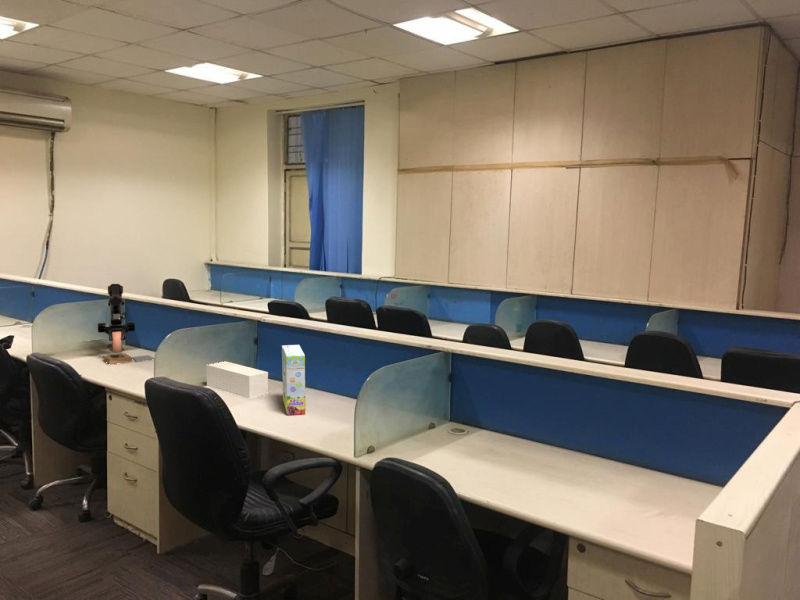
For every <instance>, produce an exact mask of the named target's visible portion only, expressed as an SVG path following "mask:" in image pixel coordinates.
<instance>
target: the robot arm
mask: <svg viewBox="0 0 800 600" xmlns="http://www.w3.org/2000/svg"><path fill="white" fill-rule="evenodd" d="M107 294H108V296H109V300H108V302H107V303H108V304H107V305H108V307H109V308H110V312H109V313H110V324H109V323H108V324H106V322H99V323H97V332H98V333H99V334H101V333H102V334H103V333H104V334H107V335H108V341H109V342H111V348H110V349H109V350H110V351H111V352H113V343H112V332H116V331H119V332H121V343H122V344H123V341H125V340H127V339H126V338H127V336H126V334H127V333H129V332H135V330H136V323H135V322H134V321H127V322H126V324H123V320H125V318H126V316H125V312H122V308H123V306H124V305H125V301H124V299H122V298H123V297H122V296H123V294H124V286H123V285H121V284H120V283H111V284H110V285H108V286H107ZM122 351H125V349H124V348H123V347H122Z"/></svg>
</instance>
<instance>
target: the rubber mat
mask: <svg viewBox="0 0 800 600" xmlns="http://www.w3.org/2000/svg"><path fill="white" fill-rule="evenodd" d="M131 357H132V359H133V360H135V361H140V362H144V361H143V360H149V361H153V360H152V359H154V360H155V358H154V357H153V356H150V355H148V354H146V355H137V356H131ZM133 360H132V361H133ZM135 361H134V362H135Z"/></svg>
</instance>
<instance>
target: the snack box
mask: <svg viewBox="0 0 800 600" xmlns="http://www.w3.org/2000/svg"><path fill="white" fill-rule="evenodd" d="M281 359H282V360H281V362H282V364H281V365H282V369H281V371H282V372H281V373H282V401H283V405H284V409H285V412H286V413H285V414H286V416H303V415H304V416H305V415H306V355H305V353H304V351H303V349H302V347H301V345H300V344H287V345H286V344H285V345H281Z"/></svg>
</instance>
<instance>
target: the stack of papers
mask: <svg viewBox="0 0 800 600" xmlns="http://www.w3.org/2000/svg"><path fill="white" fill-rule="evenodd" d="M223 361H224V360H223ZM223 361H220V362H219V361H218V362H219V363H218V362H214V364H213V363H209V365H208V364H206V387H208V388H213V389H216V390H218V389H219V390H220V391H222V392H225V391H226V392H225V393H228V392H229V394H231V393H233V394H232V395H235V394H236V395H235V396H238V395H239V396H238V397H241V396H242V397H241V398H245V399H248V398H249V399H248V400H251V399H254V397H255V398H258V396H259V397H262V396H261V395H263V396H266V395H265V394H267V395H268V394H269V379H268V378H269V372H268V371H265V370H261V369H257V368H253V367H248V366H245V365H243V364H238V363H234V362H230V361H226V360H225V361H224V362H223ZM219 390H218V391H219ZM250 398H251V399H250Z"/></svg>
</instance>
